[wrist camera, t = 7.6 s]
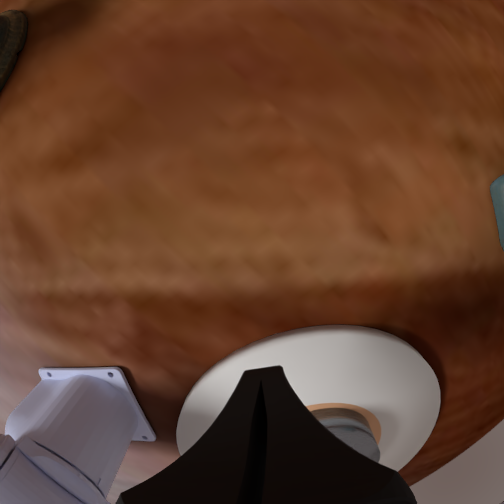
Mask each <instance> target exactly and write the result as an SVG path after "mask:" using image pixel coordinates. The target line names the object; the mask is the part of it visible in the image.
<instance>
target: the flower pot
mask: <svg viewBox="0 0 504 504" xmlns="http://www.w3.org/2000/svg"><path fill="white" fill-rule="evenodd" d="M490 193H491V197H492V201H493V206H494V210H495V215H496V220H497V226H498V232H499V238H500V243H501V246H502V248H503V251H504V174H503V175H502V176H500V177H498V178H497V179H496V180H495V181H493V183H492V184H491V185H490Z"/></svg>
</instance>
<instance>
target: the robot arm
mask: <svg viewBox="0 0 504 504" xmlns="http://www.w3.org/2000/svg"><path fill="white" fill-rule="evenodd" d="M110 372H111V373H112V374H113V375H112V374H111V373H110ZM39 375H40V376H41V378H42V380H41V381H40V382H39V383H38V384H37V385H36V387H35V388H34V389H33V390H32V391H31V392H30V393H29V394H28V395H27V396H26V397H25V398H24V399H23V400H22V401H21V403H20V404H19V405H18V406H17V407H16V408H15V409H14V410H13V411H12V412H11V414H10V415H9V417H8V419H7V422H6V427H5V435H4V434H0V504H111V503H109V502H108V501H107V500H106V497H107V495H108V493H109V490H110V488H111V486H112V483H113V481H114V479H115V476H116V474H117V472H118V469H119V467H120V465H121V463H122V460H123V458H124V456H125V454H126V451H127V449H128V447H129V445H130V442H131V440H133V441H155V439H156V435H155V433H154V431H153V430H152V428H151V426H150V424H149V422H148V421H147V419H146V417H145V415H144V413H143V411H142V410H141V408H140V406H139V404H138V402H137V400H136V398H135V396H134V394H133V392H132V390H131V388H130V386H129V384H128V382H127V380H126V377H125V375H124V373H123V371H122V370H121V369H120V368H118V367H95V368H40V369H39ZM116 504H417V501H416V499H415V496H414V494H413V492H412V491H411V489H410V488H409V486H408V485H407V483H406V482H405V481H404V479H403V478H402V477H401V476H400V474H399V473H398V472H397V471H396V470H393V469H391V468H389V467H386V466H384V465H382V464H380V463H378V462H376V461H374V460H372V459H370V458H368V457H366V456H365V455H363V454H361V453H359V452H358V451H356V450H355V449H353V448H352V447H350V446H349V445H347V444H346V443H345V442H343V441H342V440H340V439H339V438H338V437H336V436H335V435H334V434H333V433H332V432H330V431H329V430H328V429H327V428H326V427H325V426H324V425H323V424H321V423H320V422H319V421H318V420H317V419H316V418H315V417H314V415H313V414H312V413H311V412H310V411H309V410H308V409H307V407H306V406H305V405H304V404H303V403H302V401H301V400H300V399H299V397H298V396H297V394H296V393H295V391H294V390H293V388H292V387H291V385H290V383H289V382H288V380H287V378H286V376H285V373H284V370H283V367H282V366H280V365H276V366H270V367H264V368H257V369H250V370H245V371H244V372H243V374H242V376H241V378H240V380H239V382H238V384H237V386H236V388H235V390H234V391H233V393H232V395H231V397H230V398H229V400H228V402H227V403H226V405H225V406H224V408H223V409H222V411H221V412H220V414H219V415H218V416H217V418H216V419H215V421H214V422H213V423H212V425H211V426H210V427H209V428H208V429H207V431H206V432H205V433H204V434H203V435H202V436H201V437H200V438H199V440H198V441H197V442H196V443H195V444H194V445H193V446H192V447H191V448H189V449H188V450H187V451H186V452H185V453H184V454H183V455H182V456H181V457H179V458H178V459H177V460H176V461H175V462H173V463H172V464H171V465H169V466H168V467H166V468H165V469H164V470H162V471H161V472H159V473H157V474H156V475H154V476H153V477H151V478H149V479H148V480H146V481H144V482H142V483H140V484H138V485H136V486H134V487H132V488H130V489H128V490H126V491H124V492H122V493H121V494H120V496H119V498H118V500H117V502H116ZM500 504H504V501H503V502H502V503H500Z"/></svg>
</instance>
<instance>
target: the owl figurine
mask: <svg viewBox="0 0 504 504" xmlns="http://www.w3.org/2000/svg"><path fill="white" fill-rule="evenodd" d="M27 26H28V22H27V17H26V15H25V14H24V13H23V12H19V11H17V10H8V11H5V12H2V13H0V91H1V90H2V88H3V86H4V85H5V83H6V81H7V80H8V78H9V76H10V74H11V72H12V70H13V68H14V66H15V64H16V60H17V56H16V54H17V53H18V51H21V50H22V48H23V46H24V43H25V40H26V35H27Z"/></svg>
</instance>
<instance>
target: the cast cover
mask: <svg viewBox="0 0 504 504" xmlns="http://www.w3.org/2000/svg"><path fill="white" fill-rule="evenodd" d="M310 412H311V413H312V414H313V415H314V417H315V418H316V419H317V420H318V421H319V422H320V423H321V424H323V425H324V426H325V427H326V428H327V429H328V430H329V431H330V432H332V433H333V434H334V435H335V436H336V437H338V438H339V439H340V440H342V441H343V442H345V443H346V444H347V445H349V446H350V447H352V448H353V449H355V450H356V451H358V452H359V453H361V454H363V455H365V456H366V457H368V458H370V459H372V460H374V461H376V462H378V463H379V460H380V450H379V447H378V445H377V442H376V440H375V437H374V435H373V432H372V430H371V428H370V425H369V423H368V421H367V419H366V418H365V417H364V416H363V415H362V414H360V413H358V412H356V411H354V410H350V409H346V408H323V409H317V410H313V411H310Z"/></svg>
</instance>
